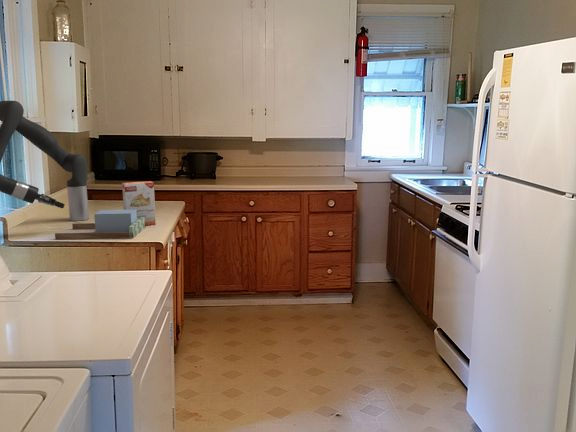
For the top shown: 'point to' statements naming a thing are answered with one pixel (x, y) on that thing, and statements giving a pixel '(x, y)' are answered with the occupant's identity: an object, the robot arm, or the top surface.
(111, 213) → the slate block
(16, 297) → the top surface
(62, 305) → the top surface
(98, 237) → the tray
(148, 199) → the cracker box
